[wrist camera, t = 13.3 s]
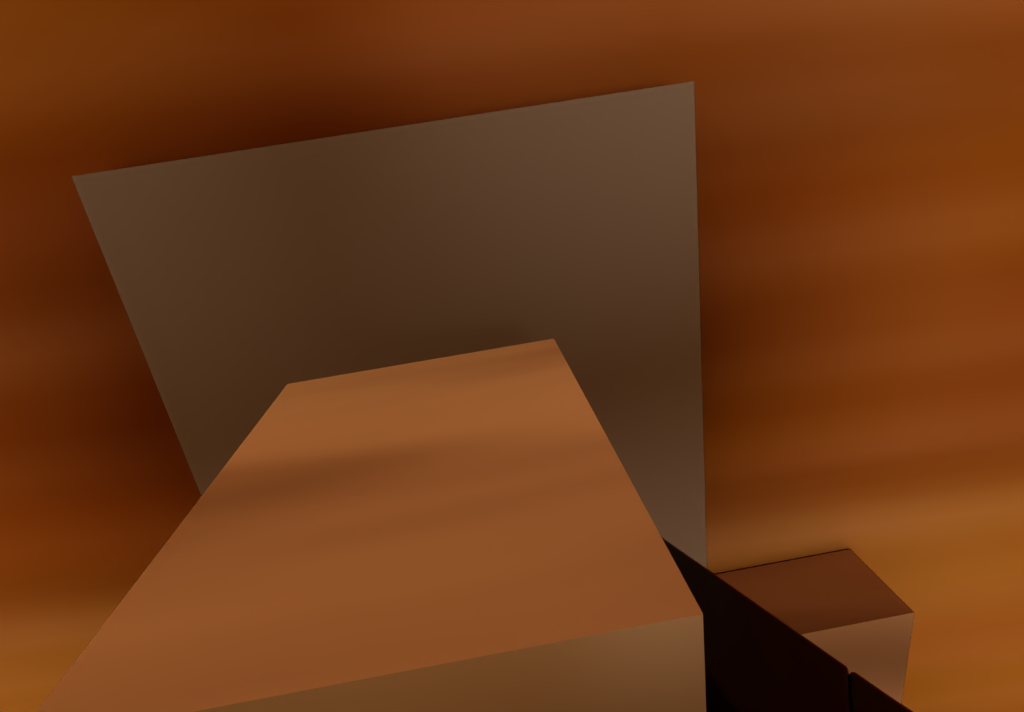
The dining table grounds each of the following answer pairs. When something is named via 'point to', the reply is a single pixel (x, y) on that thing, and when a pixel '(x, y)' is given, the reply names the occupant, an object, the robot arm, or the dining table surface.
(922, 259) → the dining table surface
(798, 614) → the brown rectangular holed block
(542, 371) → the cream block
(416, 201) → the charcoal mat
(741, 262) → the dining table surface
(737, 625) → the robot arm
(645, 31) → the dining table surface
